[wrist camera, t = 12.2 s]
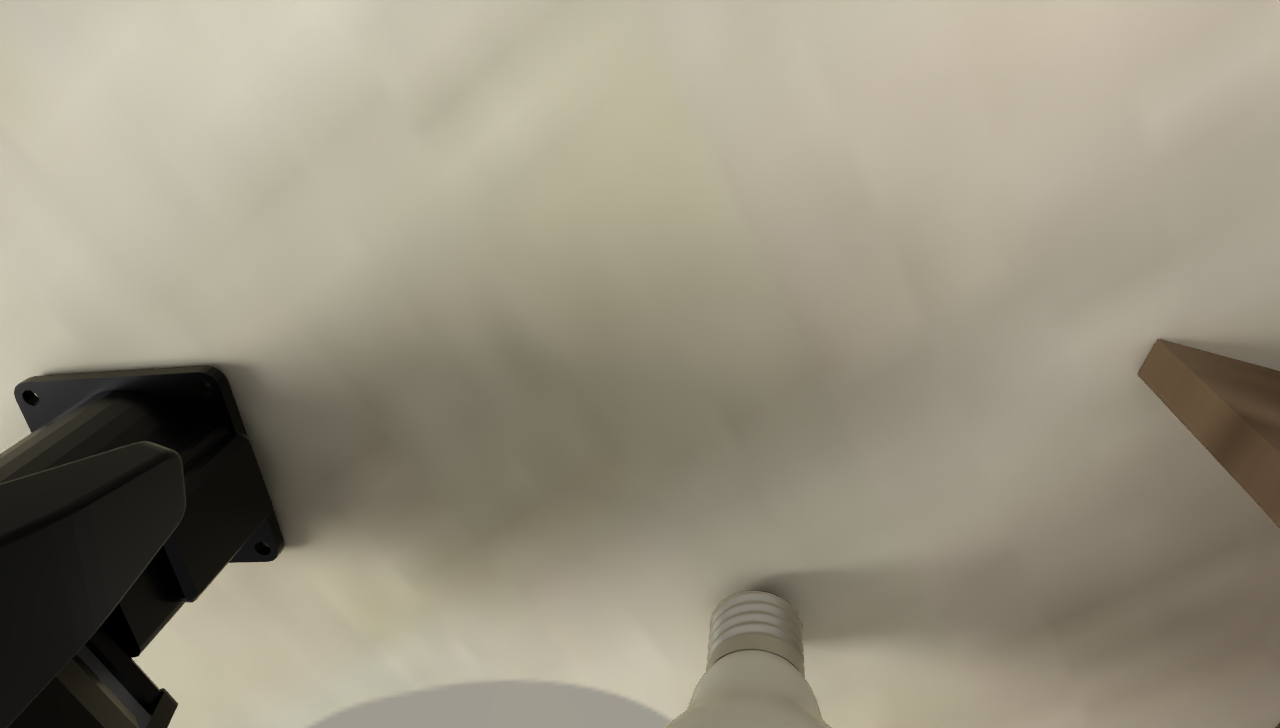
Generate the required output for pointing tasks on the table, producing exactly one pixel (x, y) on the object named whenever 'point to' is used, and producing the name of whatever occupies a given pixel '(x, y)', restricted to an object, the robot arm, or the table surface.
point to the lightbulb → (753, 669)
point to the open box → (1225, 413)
